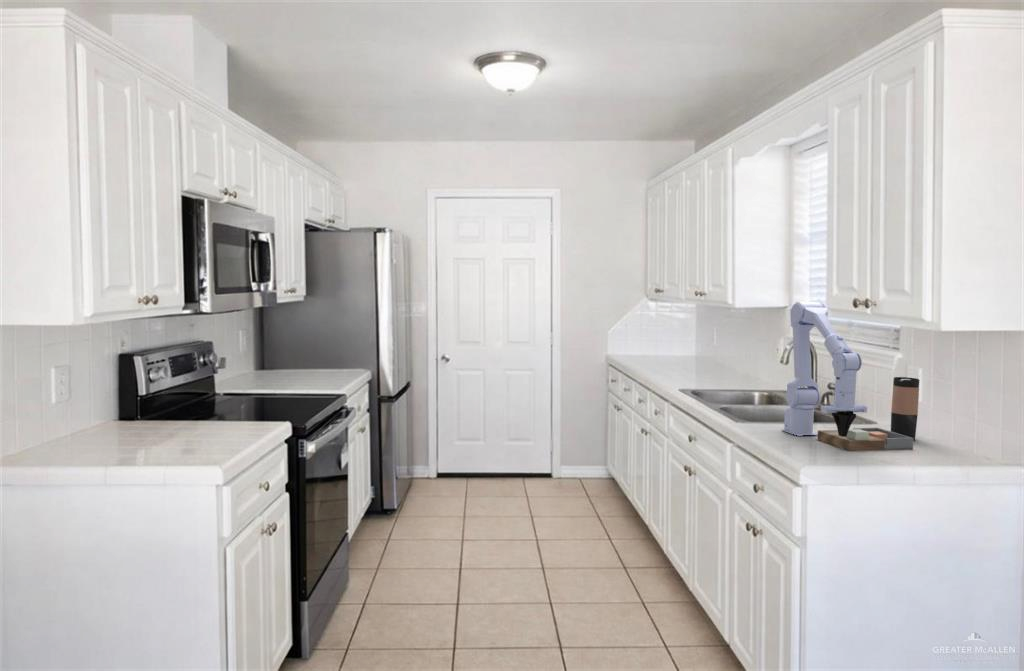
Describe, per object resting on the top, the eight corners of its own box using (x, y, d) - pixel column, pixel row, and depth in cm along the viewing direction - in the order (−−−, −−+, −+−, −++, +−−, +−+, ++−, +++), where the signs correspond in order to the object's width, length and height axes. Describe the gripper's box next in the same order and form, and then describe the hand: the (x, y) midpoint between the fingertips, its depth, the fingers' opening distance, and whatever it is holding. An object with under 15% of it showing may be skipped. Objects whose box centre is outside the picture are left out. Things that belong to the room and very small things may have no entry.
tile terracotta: (878, 431, 238) (877, 438, 238) (865, 431, 237) (865, 438, 237) (887, 434, 234) (887, 441, 234) (875, 434, 233) (875, 442, 233)
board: (817, 439, 237) (817, 430, 237) (850, 438, 240) (850, 429, 239) (849, 451, 222) (850, 441, 221) (884, 450, 224) (885, 440, 224)
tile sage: (845, 437, 228) (846, 429, 227) (858, 436, 228) (859, 429, 228) (855, 440, 223) (855, 432, 223) (868, 439, 224) (868, 432, 224)
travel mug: (912, 437, 244) (916, 377, 242) (918, 442, 237) (922, 380, 235) (887, 435, 246) (890, 376, 245) (892, 440, 239) (896, 379, 237)
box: (850, 438, 240) (850, 428, 239) (877, 438, 242) (877, 427, 241) (884, 450, 224) (885, 438, 224) (912, 449, 226) (913, 438, 226)
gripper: (832, 394, 218) (829, 439, 219) (875, 393, 221) (872, 438, 222) (817, 390, 225) (815, 434, 226) (859, 390, 228) (857, 433, 229)
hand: (842, 435), depth 225 cm, fingers closed
